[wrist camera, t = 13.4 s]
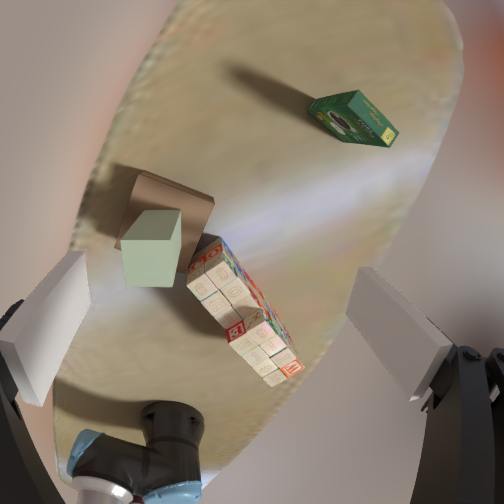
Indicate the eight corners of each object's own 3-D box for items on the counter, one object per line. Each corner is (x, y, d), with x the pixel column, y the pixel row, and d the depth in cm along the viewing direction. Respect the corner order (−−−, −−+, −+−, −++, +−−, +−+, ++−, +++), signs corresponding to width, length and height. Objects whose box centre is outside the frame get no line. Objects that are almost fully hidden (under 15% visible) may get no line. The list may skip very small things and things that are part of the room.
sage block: (181, 245, 40) (172, 287, 29) (146, 245, 39) (125, 286, 28) (181, 209, 38) (170, 240, 27) (144, 209, 38) (120, 239, 27)
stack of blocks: (187, 257, 46) (184, 296, 35) (220, 235, 46) (227, 269, 34) (257, 342, 55) (271, 388, 43) (286, 325, 54) (306, 369, 43)
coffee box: (353, 131, 43) (402, 133, 31) (343, 144, 43) (390, 149, 31) (316, 98, 40) (358, 86, 28) (305, 111, 40) (345, 103, 28)
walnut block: (186, 260, 46) (185, 274, 42) (122, 236, 43) (114, 247, 39) (213, 196, 44) (214, 203, 39) (145, 170, 40) (138, 174, 36)
